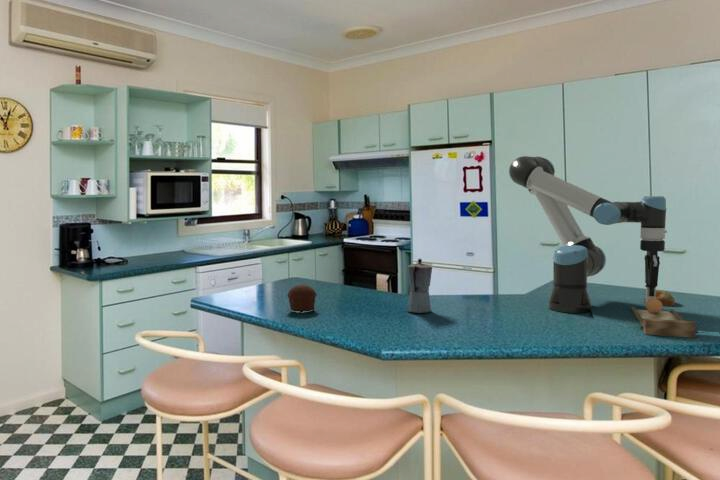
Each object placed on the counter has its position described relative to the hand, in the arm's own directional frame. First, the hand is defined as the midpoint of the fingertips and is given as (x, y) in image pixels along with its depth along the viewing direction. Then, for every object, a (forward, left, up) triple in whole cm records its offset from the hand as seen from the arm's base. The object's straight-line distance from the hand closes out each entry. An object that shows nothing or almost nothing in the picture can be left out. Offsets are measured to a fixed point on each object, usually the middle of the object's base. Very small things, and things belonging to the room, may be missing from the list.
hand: (650, 304), depth 179 cm
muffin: (-124, -33, -3) cm, 128 cm away
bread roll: (+5, +11, -3) cm, 13 cm away
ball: (0, -7, -2) cm, 7 cm away
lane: (0, -17, -3) cm, 17 cm away
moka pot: (-80, -22, -3) cm, 83 cm away
